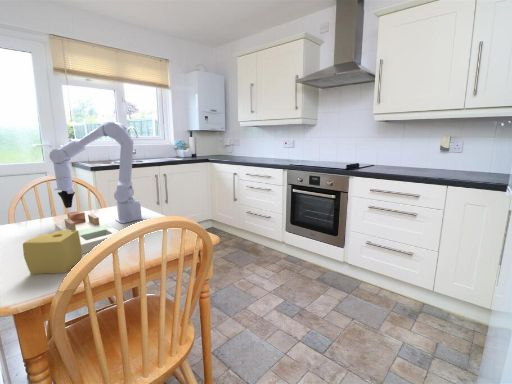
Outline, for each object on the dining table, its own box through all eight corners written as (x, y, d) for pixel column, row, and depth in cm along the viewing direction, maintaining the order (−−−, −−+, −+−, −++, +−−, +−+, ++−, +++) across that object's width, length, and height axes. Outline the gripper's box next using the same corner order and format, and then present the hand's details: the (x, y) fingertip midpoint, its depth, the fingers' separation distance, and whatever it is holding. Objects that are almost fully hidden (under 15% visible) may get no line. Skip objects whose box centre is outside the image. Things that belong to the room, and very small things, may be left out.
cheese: (50, 259, 90) (44, 230, 88) (85, 258, 91) (80, 228, 89) (27, 276, 80) (20, 243, 78) (66, 273, 81) (61, 241, 79)
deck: (93, 222, 126) (91, 210, 125) (124, 241, 105) (122, 225, 103) (56, 231, 116) (53, 217, 115) (82, 253, 95) (79, 236, 93)
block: (82, 219, 122) (80, 210, 121) (85, 221, 118) (84, 212, 117) (68, 222, 118) (67, 213, 117) (72, 224, 115) (70, 215, 114)
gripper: (48, 176, 123) (53, 206, 126) (57, 180, 113) (62, 212, 116) (67, 174, 128) (71, 203, 131) (77, 177, 118) (81, 208, 121)
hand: (68, 207), depth 124 cm, fingers closed
